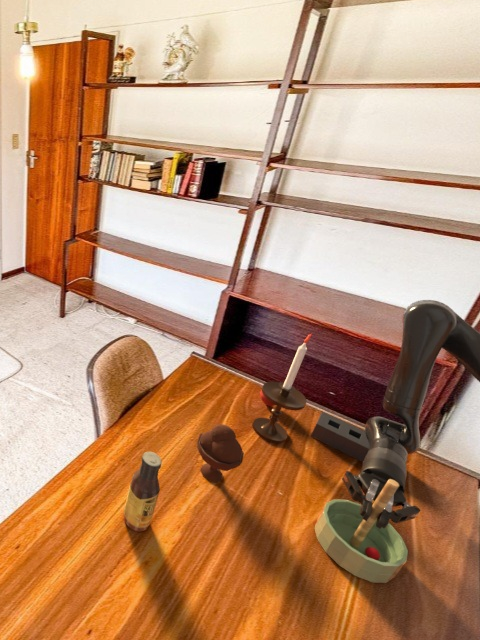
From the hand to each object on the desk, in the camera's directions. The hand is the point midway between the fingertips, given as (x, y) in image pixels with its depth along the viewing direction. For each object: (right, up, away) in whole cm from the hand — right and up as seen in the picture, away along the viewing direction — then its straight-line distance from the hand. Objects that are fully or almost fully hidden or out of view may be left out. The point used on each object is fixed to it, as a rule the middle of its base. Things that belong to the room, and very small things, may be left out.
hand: (373, 521), depth 81 cm
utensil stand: (+23, +1, +34) cm, 40 cm away
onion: (+8, +9, +48) cm, 50 cm away
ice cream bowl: (-22, -2, +24) cm, 33 cm away
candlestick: (+2, +4, +38) cm, 38 cm away
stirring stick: (+2, -9, +7) cm, 11 cm away
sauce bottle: (-46, -7, +12) cm, 47 cm away
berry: (+4, -10, +5) cm, 12 cm away
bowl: (+2, -11, +7) cm, 13 cm away
